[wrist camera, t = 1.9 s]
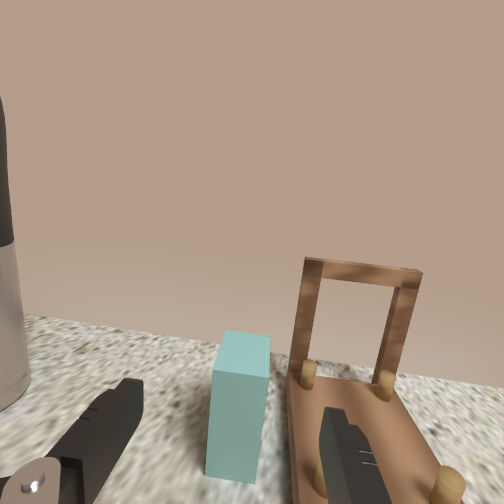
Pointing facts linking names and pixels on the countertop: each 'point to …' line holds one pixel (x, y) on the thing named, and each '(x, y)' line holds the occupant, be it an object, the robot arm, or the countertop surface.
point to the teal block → (237, 406)
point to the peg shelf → (361, 398)
